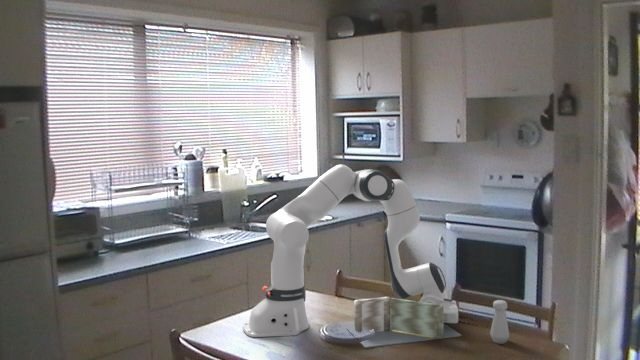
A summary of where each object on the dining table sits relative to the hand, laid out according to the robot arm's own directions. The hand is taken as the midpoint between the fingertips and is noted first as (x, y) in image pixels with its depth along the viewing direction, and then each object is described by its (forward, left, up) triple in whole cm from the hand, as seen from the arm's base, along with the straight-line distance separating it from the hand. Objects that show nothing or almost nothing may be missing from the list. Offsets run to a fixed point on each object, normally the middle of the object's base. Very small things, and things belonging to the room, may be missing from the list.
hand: (424, 320), depth 197 cm
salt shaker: (+21, -11, -6) cm, 24 cm away
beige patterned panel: (-14, +9, -5) cm, 18 cm away
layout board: (-5, +6, -5) cm, 9 cm away
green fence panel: (-2, +1, -4) cm, 5 cm away
